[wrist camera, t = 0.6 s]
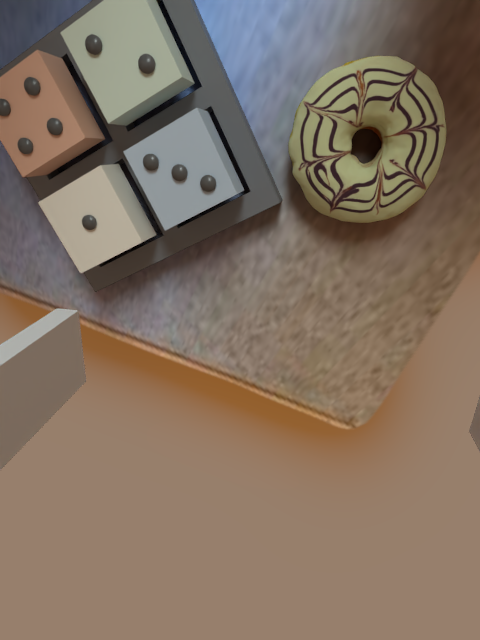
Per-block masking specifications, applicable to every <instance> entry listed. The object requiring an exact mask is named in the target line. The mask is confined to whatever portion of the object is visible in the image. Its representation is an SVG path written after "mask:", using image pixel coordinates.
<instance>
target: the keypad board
mask: <svg viewBox="0 0 480 640" xmlns="http://www.w3.org/2000/svg"><path fill="white" fill-rule="evenodd" d="M102 1H103V0H92V1H91V2H90V3H88V4H87V5H86V6H84V7H83V8H82V9H81V10H79V11H78V12H77V13H75V14H74V15H73V16H71V17H70V18H69V19H67V20H66V21H65V22H63V23H62V24H61V25H59V26H58V27H57V28H55V29H54V30H53V31H51V32H50V33H49V34H47V35H46V36H45V37H43V38H42V39H41V40H39V41H38V42H37V43H35V44H34V45H33V46H31V47H30V48H29V49H27V50H26V51H25V52H23V53H22V54H21V55H19V56H18V57H17V58H15V59H14V60H13V61H11V62H10V63H9V64H7V65H6V66H5V67H3V68H2V69H1V70H0V77H1V76H3V75H4V74H5V73H7V72H8V71H9V70H11V69H12V68H13V67H15V66H16V65H17V64H19V63H20V62H21V61H23V60H24V59H25V58H27V57H28V56H29V55H31V54H32V53H33V52H35V51H36V50H40V51H43V52H45V53H48V54H51V55H54V56H57V57H59V58H62V59H63V61H64V63H65V65H66V66H67V68H68V67H70V66H71V65H73V66H74V68H75V70H76V72H77V73H78V75H79V77H80V79H81V81H82V83H83V85H84V87H85V88H86V90H87V92H88V94H89V96H90V98H91V100H92V102H93V104H94V105H95V107H96V109H97V111H98V113H99V115H100V117H101V119H102V120H103V122H104V124H105V126H106V128H107V130H108V132H109V134H110V136H111V137H112V139H113V141H112V142H111V143H109V144H107V145H106V146H104V147H102V148H101V149H99V150H98V151H96V152H94V153H93V154H91V155H89V156H88V157H86V158H84V159H83V160H81V161H80V162H78V163H76V164H75V165H73V166H71V167H70V168H68V169H66V170H65V171H63V172H62V173H59V171H58V170H57V169H56V170H54V171H52V172H51V173H49V174H48V175H43V176H32V177H27V179H28V180H29V182H30V184H31V185H32V187H33V189H34V190H35V192H36V194H37V195H38V197H39V199H40V200H43V199H45V198H46V197H48V196H50V195H51V194H53V193H55V192H56V191H58V190H60V189H61V188H63V187H65V186H66V185H68V184H70V183H72V182H73V181H75V180H77V179H78V178H80V177H82V176H83V175H85V174H87V173H88V172H90V171H92V170H93V169H95V168H97V167H98V166H100V165H110V164H119V165H121V164H123V163H125V164H126V166H127V168H128V169H129V171H130V173H131V175H132V177H133V179H134V181H135V183H136V184H137V186H138V188H139V190H140V192H141V194H142V196H143V198H144V200H145V201H146V203H147V205H148V207H149V209H150V211H151V213H152V215H153V216H154V218H155V220H156V222H157V224H158V226H159V228H160V230H161V232H162V233H163V236H161V237H159V238H157V239H155V240H153V241H151V242H149V243H147V244H145V245H143V246H141V247H139V248H137V249H135V250H133V251H131V252H129V253H127V254H125V255H123V256H121V257H119V258H118V259H116V260H114V261H112V262H110V260H109V259H108V260H106V261H104V262H102V263H101V264H99V265H97V266H95V267H93V268H91V269H89V270H87V271H85V272H84V274H85V276H86V277H87V279H88V281H89V282H90V284H91V286H92V287H93V289H94V291H95V292H97V291H99V290H101V289H103V288H105V287H107V286H109V285H111V284H113V283H115V282H117V281H119V280H121V279H124V278H126V277H128V276H130V275H132V274H134V273H136V272H138V271H140V270H142V269H144V268H146V267H148V266H150V265H152V264H154V263H157V262H159V261H161V260H163V259H165V258H167V257H169V256H171V255H173V254H175V253H177V252H179V251H181V250H183V249H185V248H187V247H190V246H192V245H194V244H196V243H198V242H200V241H202V240H204V239H206V238H208V237H210V236H212V235H214V234H216V233H218V232H221V231H223V230H225V229H227V228H229V227H231V226H233V225H235V224H237V223H239V222H241V221H243V220H245V219H247V218H249V217H251V216H254V215H256V214H258V213H260V212H262V211H264V210H266V209H268V208H270V207H272V206H274V205H276V204H278V203H280V202H281V201H282V198H281V195H280V193H279V191H278V189H277V186H276V184H275V182H274V180H273V177H272V175H271V173H270V171H269V168H268V166H267V164H266V162H265V159H264V157H263V155H262V153H261V150H260V148H259V146H258V144H257V141H256V139H255V137H254V134H253V132H252V130H251V128H250V125H249V123H248V121H247V119H246V116H245V114H244V112H243V110H242V107H241V105H240V103H239V101H238V98H237V96H236V94H235V92H234V89H233V87H232V85H231V83H230V80H229V78H228V76H227V74H226V71H225V69H224V67H223V65H222V62H221V60H220V58H219V55H218V53H217V51H216V49H215V46H214V44H213V42H212V40H211V37H210V35H209V33H208V31H207V28H206V26H205V24H204V22H203V19H202V17H201V15H200V13H199V10H198V8H197V6H196V4H195V1H194V0H156V1H157V3H158V4H159V3H160V2H162V1H163V2H164V5H165V7H166V9H167V11H168V13H169V15H170V18H171V20H172V22H173V24H174V26H175V29H176V31H177V33H178V35H179V37H180V39H181V42H182V44H183V46H184V48H185V50H186V52H187V55H188V57H189V59H190V61H191V63H192V65H193V68H194V70H195V72H196V74H197V76H198V78H199V81H200V83H201V85H202V87H200V88H199V89H197V90H196V91H194V92H192V93H191V94H189V95H187V96H186V97H184V98H182V99H181V100H179V101H178V102H176V103H174V104H173V105H171V106H169V107H168V108H166V109H165V110H163V111H161V112H160V113H158V114H156V115H155V116H153V117H151V118H150V119H148V120H147V121H145V122H143V123H142V124H140V125H138V126H137V127H135V126H134V124H133V122H132V123H130V124H128V125H127V126H124V125H116V124H108V122H107V120H106V118H105V116H104V115H103V113H102V111H101V109H100V107H99V105H98V103H97V101H96V99H95V97H94V96H93V94H92V92H91V90H90V88H89V86H88V84H87V82H86V80H85V79H84V77H83V75H82V73H81V71H80V69H79V67H78V65H77V63H76V62H75V60H74V58H73V56H72V54H71V52H70V50H69V48H68V46H67V45H66V43H65V41H64V39H63V37H62V35H61V33H60V32H62V31H63V30H64V29H66V28H67V27H68V26H70V25H71V24H72V23H74V22H75V21H77V20H78V19H79V18H81V17H82V16H83V15H85V14H86V13H87V12H89V11H90V10H91V9H93V8H94V7H95V6H97V5H98V4H99V3H101V2H102ZM195 108H199V109H202V110H205V111H208V113H210V112H212V111H214V113H215V115H216V117H217V120H218V122H219V124H220V126H221V128H222V130H223V133H224V135H225V137H226V139H227V141H228V143H229V146H230V148H231V150H232V152H233V154H234V156H235V159H236V161H237V163H238V165H239V167H240V169H241V172H242V174H243V176H244V178H245V180H246V183H247V185H248V187H249V189H250V192H248V193H246V194H244V195H242V196H240V197H238V198H236V199H234V200H232V201H230V202H228V203H226V204H224V205H222V206H220V207H219V208H217V209H215V210H213V211H211V212H209V213H207V214H205V215H203V216H201V217H199V218H197V219H195V220H193V221H191V222H189V223H187V224H185V223H184V221H183V222H181V223H179V224H177V225H175V226H173V227H171V228H169V229H167V230H164V228H163V226H162V224H161V222H160V220H159V219H158V217H157V215H156V213H155V211H154V209H153V207H152V205H151V203H150V202H149V200H148V198H147V196H146V194H145V192H144V190H143V188H142V186H141V184H140V183H139V181H138V179H137V177H136V175H135V173H134V171H133V169H132V167H131V166H130V164H129V162H128V160H127V158H126V156H125V154H124V152H123V151H125V150H127V149H128V148H130V147H132V146H133V145H135V144H137V143H139V142H140V141H142V140H144V139H145V138H147V137H149V136H150V135H152V134H154V133H155V132H157V131H159V130H160V129H162V128H164V127H165V126H167V125H169V124H170V123H172V122H174V121H175V120H177V119H179V118H180V117H182V116H184V115H185V114H187V113H189V112H190V111H192V110H194V109H195Z"/></svg>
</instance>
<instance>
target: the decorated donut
mask: <svg viewBox="0 0 480 640" xmlns="http://www.w3.org/2000/svg"><path fill="white" fill-rule="evenodd" d="M360 129H369V130H370V129H371V130H373V131H374V133H377V135H378V136H379V139H380V140H381V143H382V144H381V149H380V150H379V151H378V153H377V155H376V157H375V158H374V159H373V160H371V162H368V163H365V164H362V163H361V162H359V160H358V159H357V157H356V156H354V155H352V154H351V149H352V141H351V140H352V138H353V135H354V134H355V133H356V132H357V131H358V130H360ZM445 144H446V122H445V113H444V106H443V102H442V99H441V98H440V95H439V93H438V90H437V87H436V86H435V84H434V83H433V82H432V80H431V79H430V78H429V77H428V76H427V75H425V74H423V73H422V72H421V71H420V70H418V69H417V68H416V67H415V66H414V65H413V64H411V63H409V62H406V61H404V60H402V59H400V58H399V57H396V56H395V57H392V56H373V57H366V58H362V59H358V60H356V61H351V62H347V63H345V64H344V65H343V66H341V67H338V68H335V69H333V70H331V71H329V72H328V73H327V74H325V75H324V76H322V77H321V78H320V79H319V80H318V81H317V82H316V83H315V84H314V85H313V86H312V87H311V89H310V90H309V91H308V93H307V94H306V96H305V97H304V99H303V100H302V102H301V103H300V105H299V107H298V109H297V111H296V114H295V119H294V123H293V130H292V133H291V135H290V140H289V144H288V147H289V155H290V158H291V160H292V165H293V171H292V173H293V176H294V177H295V179H296V180H297V181H298V183H299V184H300V185H301V188H302V190H303V192H304V194H305V197H306V199H307V201H308V202H309V203H310V204H311V206H312V207H313V208H314V209H316V210H317V211H318V212H320V213H322V214H324V215H327V216H329V217H333V218H335V219H338V220H340V221H349V222H357V223H365V222H366V223H370V222H374V221H380V220H385V219H389V218H391V217H394V216H397V215H399V214H400V213H402V212H404V211H405V210H406V209H407V208H409V207H410V206H412V205H413V204H414V203H415V202H416V201H418V200H419V199H420V198H421V197H422V196H423V195H424V194H425V192H426V191H427V189H428V187H429V185H430V184H431V183H432V181H433V180H434V178H435V176H436V174H437V171H438V169H439V166H440V161H441V159H442V156H443V151H444V147H445Z"/></svg>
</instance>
